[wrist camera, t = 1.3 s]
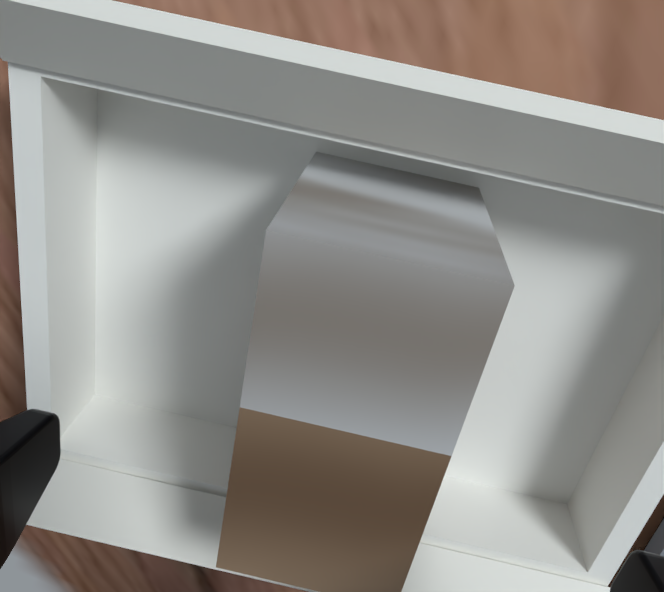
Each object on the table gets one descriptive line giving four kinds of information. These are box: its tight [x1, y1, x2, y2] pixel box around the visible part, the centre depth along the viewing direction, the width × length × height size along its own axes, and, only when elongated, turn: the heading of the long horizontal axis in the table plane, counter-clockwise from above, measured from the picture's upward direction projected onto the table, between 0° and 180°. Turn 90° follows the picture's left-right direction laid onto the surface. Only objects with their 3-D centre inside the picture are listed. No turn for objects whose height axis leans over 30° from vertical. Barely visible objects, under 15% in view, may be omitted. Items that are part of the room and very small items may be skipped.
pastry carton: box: [0, 0, 664, 592], centre depth 13 cm, size 12×15×4 cm
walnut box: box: [216, 152, 515, 592], centre depth 12 cm, size 7×4×5 cm, turn 169°
